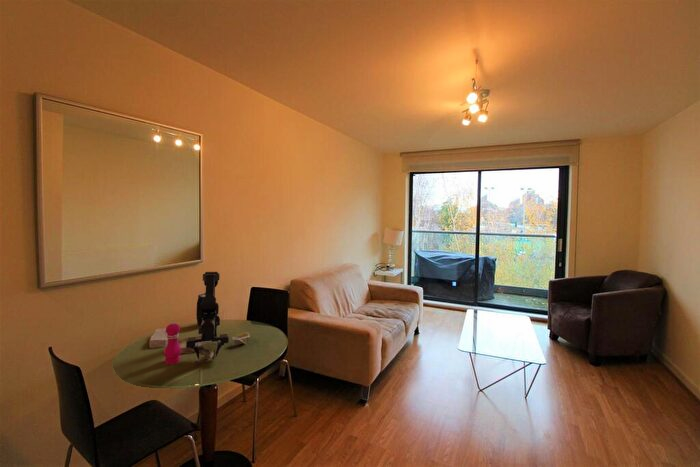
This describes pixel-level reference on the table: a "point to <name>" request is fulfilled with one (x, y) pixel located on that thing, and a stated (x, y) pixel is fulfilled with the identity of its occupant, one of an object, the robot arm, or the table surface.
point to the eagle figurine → (207, 355)
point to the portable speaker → (199, 320)
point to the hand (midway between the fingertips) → (207, 357)
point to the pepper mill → (172, 344)
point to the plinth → (184, 349)
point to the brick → (159, 338)
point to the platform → (241, 338)
